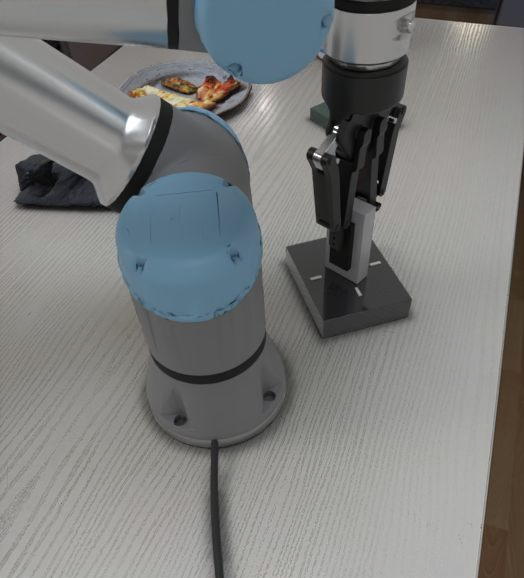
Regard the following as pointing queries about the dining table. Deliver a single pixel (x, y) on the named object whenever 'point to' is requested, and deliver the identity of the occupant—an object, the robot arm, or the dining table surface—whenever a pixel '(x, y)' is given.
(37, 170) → the dark slate chunk
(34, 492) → the dining table surface
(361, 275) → the grey block red corner
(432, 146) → the dining table surface
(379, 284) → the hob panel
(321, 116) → the switch box
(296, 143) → the dining table surface
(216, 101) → the food plate
